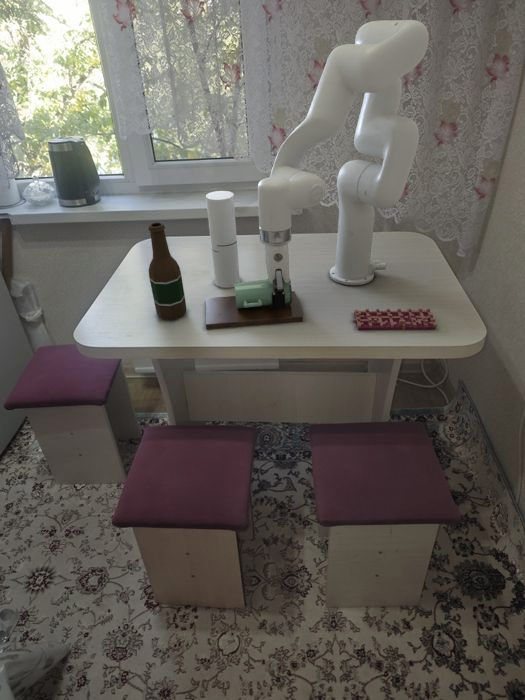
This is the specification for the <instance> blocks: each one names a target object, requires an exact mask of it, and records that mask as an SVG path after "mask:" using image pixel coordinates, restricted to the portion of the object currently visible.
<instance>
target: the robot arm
mask: <svg viewBox="0 0 525 700" xmlns="http://www.w3.org/2000/svg"><path fill="white" fill-rule="evenodd" d="M429 37H430V36H429V31H428V29H427V27H426V25H425V24H424V23H423V22H421V21H420V20H415V19H397V20H396V19H395V20H393V19H391V20H390V19H387V20H386V19H385V20H384V19H383V20H382V19H381V20H372V21H368V22H366V23H364V24H363V25H361V26H360V27H359V28H358V30H357V32H356V35H355V39H354V43H346V44H341V45H338V46H336V47H335V48H333V50H332V51H331V52H330V54H329V55H328V57H327V59H326V63H325V65H324V68H323V71H322V73H321V76H320V78H319V82H318V85H317V87H316V90H315V92H314V96H313V99H312V101H311V104H310V106H309V109H308V111H307V115H306V116H305V118H304V120H302V121H301V123H299V124H298V125H297V126H296V127H295V128H294V129H293V130H292V131H291V133H290V134H289V135H288V136H287V138H285V140H284V141H283V142H282V144H281V145H280V147H279V149H278V151H277V154H276V156H275V158H274V162H273V165H272V168H271V171H270V175H269V177H265V178H263V179H261V180H260V181H259V182H258V184H257V207H258V224H259V225H258V227H259V229H258V230H259V232H258V233H259V242H260V243H262V244H263V245H264V256H265V266H266V272H267V273H266V274H267V276H268V279H269V281H270V283H271V284H272V287H273V293H272V307H273V308H282V307H285V292H284V281H285V283H289V281H291V278H290V277H291V276H290V255H289V243H290V242H292V239H293V238H292V237H293V236H292V224H293V223H292V221H293V220H292V218H293V217H292V213H293V211H294V210H306V209H311V208H314V207H316V206H318V205H319V204H320V203H321V202H322V201H323V200H324V198H325V196H326V192H327V191H326V190H327V188H326V187H327V186H326V184H325V182H324V180H323V179H322V178H321V177H320V176H319V175H316V174H314V173H312V172H308V171H305V170H301V169H299V167H300V164H301V162H302V160H303V158H304V157H305V155H306V154H307V153H308V152H309V151H310V150H311V149H312V148H314V147H315V146H316V145H318V144H321V143H323V142H325V141H328V140H330V139H332V138H334V137H337V136H338V135H339V134H341V133H342V132H343V130H344V129H345V128H344V127H345V125H346V122H347V119H348V117H349V114H350V112H351V109H352V107H353V105H354V101H355V99H356V96H357V94H358V93H363V94H364V96H363V99H362V104H361V108H360V112H359V116H358V119H357V124H356V127H355V132H354V137H353V145H354V148H355V150H356V151H357V152H359V153H360V154H363V155H366V156H369V157H373V158H378V159H382V164H379V163H377V162H372V161H368V160H362V159H352V160H349V161H347V162H346V163H344V164H343V165H342V166H341V167H340V169H339V171H338V173H337V178H336V187H337V188H336V189H337V195H338V196H337V197H338V223H337V237H336V239H337V240H336V251H335V252H336V253H335V265H333V266H332V267H331V268H330V269H329V277H330V279H331V280H332V281H334V282H336V283H337V284H341V285H344V286H345V285H346V286H362V285H366V284H368V283H370V282H371V281H373V279H375V278H374V276H375V271H378V270H379V271H383V270H387V262H380V260H378V259H376V260H371V254H372V247H373V237H374V229H375V220H376V215H375V214H376V213H375V208H378V209H382V210H383V209H384V210H388V209H391V208H393V207H395V206H396V205H397V204H398V203H399V201H400V200H401V198H402V196H403V194H404V191H405V188H406V185H407V182H408V179H409V177H410V176H409V175H410V172H411V170H412V166H413V163H414V160H415V158H416V153H417V150H418V146H419V143H420V142H419V141H420V132H419V131H420V130H419V126H418V125H417V123H416V122H415V120H413V119H412V118H410V117H408V116H402V115H398V111H399V107H400V104H401V103H400V102H401V98H402V94H403V85H402V84H403V83H402V79H401V78H402V77H404V76H406V74H408V73H410V72H411V71H412V70H414V69H415V68H416V67H417V66H418V65H419V64H420V63H421V62H422V60H423V59H424V57H425V55H426V53H427V50H428V48H429V41H430V38H429ZM274 279H276V281H277V282H274ZM275 284H277V288H276V289H275Z"/></svg>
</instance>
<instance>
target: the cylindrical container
mask: <svg viewBox="0 0 525 700" xmlns="http://www.w3.org/2000/svg"><path fill="white" fill-rule="evenodd" d="M234 196H235V195H234V192H232V191H228V190H216V191H211V192H208V193H207V194H206V195H205V202H206V210H207V221H208V230H209V239H210V249H211V258H212V266H213V276H214V283H215V285H216V286H217V287H218V288H222V289H231V288H235V287H234V283H238V282H241V280H240V264H239V252H238V251H239V250H238V240H237V239H238V236H237V235H238V234H237V222H236V210H235V207H236V206H235V197H234Z"/></svg>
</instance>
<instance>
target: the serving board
mask: <svg viewBox="0 0 525 700" xmlns="http://www.w3.org/2000/svg"><path fill="white" fill-rule="evenodd" d="M303 316H304V315H303V312H302V310H301V306H300V303H299V300H298V297H297V294H296V291H295V290H292V303H287V304H285V307H282V308H273V307H272V305H269V306H259V307H250V308H241V309H237V304H236V296H235V295H231V296H229V295H227V296H216V297H206V298H205V329H206V330H215V329H228V328H229V329H230V328H239V327H240V328H241V327H254V326H264V325H276V324H288V323H301V322H304V321H303V320H304V317H303Z"/></svg>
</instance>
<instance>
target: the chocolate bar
mask: <svg viewBox="0 0 525 700" xmlns="http://www.w3.org/2000/svg"><path fill="white" fill-rule="evenodd" d="M352 321H353V323H356V327H357V330H358V331H392V330H393V331H397V330H398V331H405V330H407V331H409V330H411V331H412V330H413V331H414V330H415V331H416V330H419V331H420V330H422V331H423V330H424V331H425V330H430V331H431V330H436V328H437V323H436V318H435V317H434V313H431V308H430V307H427V308H426V309H425V310H424V309H423V308H422V307H419V308H418V309H417V310H416V309H415V310H413V309H412V307H409V308H407V309H406V310H402V309H401V308H397V309H396V310H391V308H386V310H380V308H375V310H370V309H369V308H365V309H364V310H359V309H354V318H353V319H352Z"/></svg>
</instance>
